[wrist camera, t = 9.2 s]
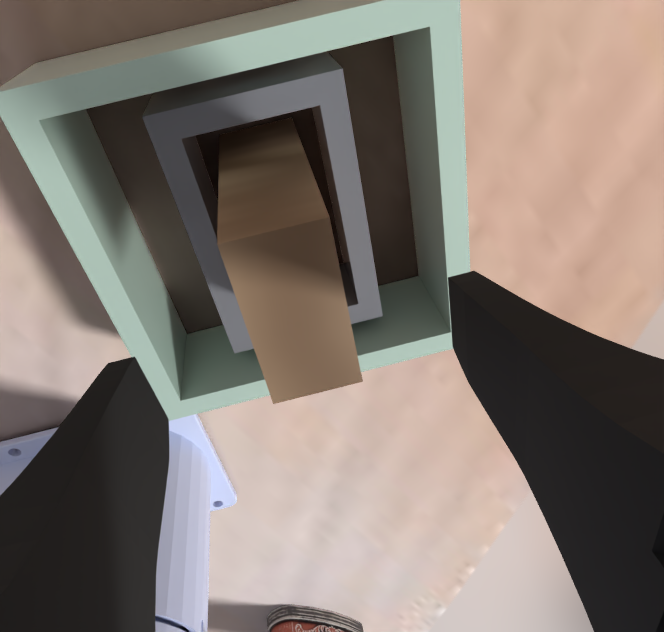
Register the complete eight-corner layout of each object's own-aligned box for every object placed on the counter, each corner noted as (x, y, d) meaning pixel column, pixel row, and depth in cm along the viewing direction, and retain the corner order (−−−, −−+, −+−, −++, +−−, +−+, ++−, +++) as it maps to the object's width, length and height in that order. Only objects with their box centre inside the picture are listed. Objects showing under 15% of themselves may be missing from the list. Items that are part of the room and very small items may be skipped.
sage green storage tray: (174, 353, 23) (166, 421, 20) (35, 62, 16) (-12, 94, 13) (438, 286, 23) (472, 343, 20) (412, -27, 16) (458, -18, 13)
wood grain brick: (257, 260, 21) (273, 403, 15) (219, 134, 18) (217, 244, 12) (320, 245, 21) (362, 381, 15) (291, 117, 18) (329, 217, 12)
